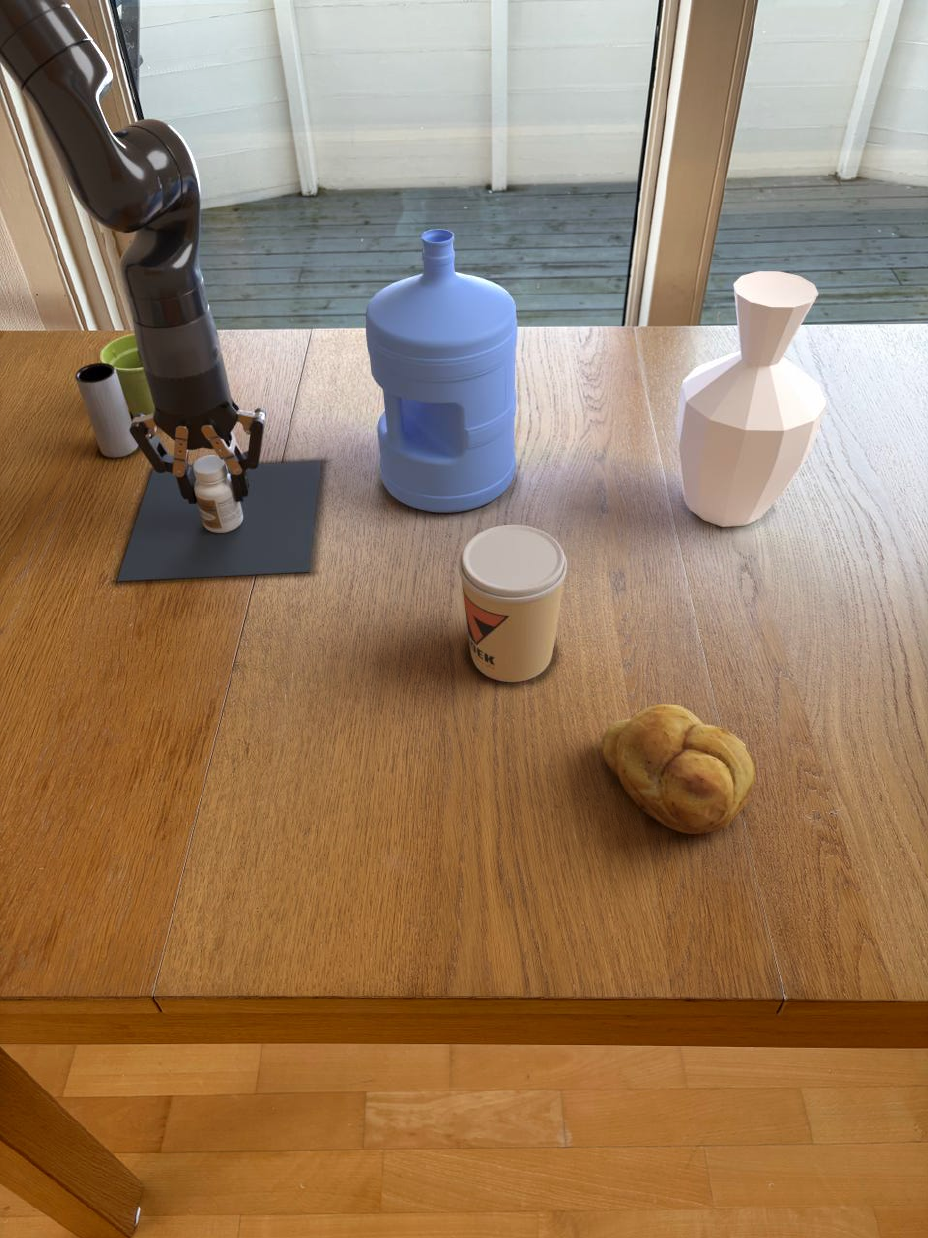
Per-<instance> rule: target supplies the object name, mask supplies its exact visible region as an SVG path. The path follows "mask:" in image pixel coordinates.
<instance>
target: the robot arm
mask: <svg viewBox="0 0 928 1238" xmlns="http://www.w3.org/2000/svg"><path fill="white" fill-rule="evenodd" d="M0 65H1V66H2V68H3V69H4V70H5V71H6V72H7V74H8V75H9V77H10V78H11V79H12V81H13V82H14V83H15V85H16V86H17V87H18V88H19V90H20V91H21V92H22V94H23V96H24V97H25V98H26V99H27V100H28V102H29V103H30V105H31V106H32V108H33V109H34V111H35V113H36V115H37V117H38V120H39V122H40V124H41V127H42V129H43V131H44V133H45V136H46V138H47V141H48V142H49V144H50V147H51V149H52V151H53V153H54V155H55V157H56V158H55V159H56V160H57V162H58V164H59V166H60V168H61V171H62V173H63V175H64V177H65V181H66V182H67V184H68V186H69V188H70V190H71V192H72V194H73V195H74V197H75V199H76V201H77V202H78V203H79V205H80V206H81V207H82V208H83V209H84V211H85V212H86V213H87V214H88V215H89V216H90V217H91V218H92V219H93V220H95V221H96V222H97V223H99V225H101V226H103V227H104V228H107V229H108V230H110V231H113V232H115V233H119V234H132V233H134V236H133V238H132V240H131V241H130V243H129V244H128V246H127V247H126V248H125V250H124V251H123V253H122V254H121V255H120V259H119V265H118V269H119V275H120V280H121V284H122V287H123V291H124V294H125V297H126V301H127V305H128V308H129V312H130V315H131V320H132V324H133V332H134V333H135V339H136V344H137V347H138V355H139V359H140V361H141V362H142V365H143V368H144V372H145V375H146V379H147V383H148V386H149V390H150V393H151V397H152V400H153V403H154V406H155V411H154V413H152V414H149V415H146V416H145V415H143V414H141V413H137V414H136V415H135V416H134V417H133V418H132V420H131V421H132V423H131V427H130V429H129V431H130V433H131V435H132V436H133V438H134V439H135V441H136V442H137V444H138V447H139V448H140V451H141V452H142V453H143V455H144V456H145V458H146V460H147V461H148V462H149V463H150V465H151V467H152V469H154V470H155V471H156V472H158V473H164V472H165V471H167V472H171V473H173V474H174V476H176V478H177V482H178V486H179V489H180V493H181V496H182V497H183V498H184V499H188V502H189V504H196V503H197V499H196V496H195V492H194V483H195V481H196V480H195V476H194V472H193V468H192V467H193V464H192V465H190V464H189V457H190V451H195V450H196V451H197V450H199V449H207V450H214V451H215V453H216V455H217V456H219V457H220V459H221V460H224V462H225V463H226V465H227V466H228V468H229V469H230V471H231V474H230V477H231V481H232V486H233V490H234V494H235V498H236V502H243V501H244V497H247V496H248V492H249V487H250V483H249V479H248V474H247V469H249V468H250V469H256V468H257V467H258V464H260V459H261V454H262V453H261V452H262V446H263V439H264V432H265V425H266V419H267V411H266V410H265V409H264V408H263V407H262V408H261V407H258V408H256V409H255V410H254V411H249V410H246V409H245V410H244V409H240V407H239V406H238V404H237V403H236V402H235V400H234V399H233V397H232V393H231V388H230V383H229V379H228V374H227V370H226V369H227V368H226V365H225V359H224V356H223V352H222V351H223V350H222V348H221V347H222V346H221V342H220V338H219V333H218V329H217V325H216V322H215V320H214V317H213V314H212V311H211V309H210V305H209V300H208V295H207V291H206V287H205V281H204V277H203V274H202V269H201V266H200V247H201V246H200V245H201V214H202V213H201V208H202V207H201V205H202V203H201V202H202V200H201V198H202V197H201V195H202V194H201V183H200V176H199V172H198V167H197V164H196V161H195V159H194V156H193V154H192V151H191V150H190V148H189V146H188V143H187V142H186V141H185V140H184V138H183V137H182V136H181V134H180V133H179V132H178V131H177V130H176V129H175V128H174V127H172V126H171V125H169V124H168V123H167V122H164V121H162V120H159V119H155V118H145V119H144V118H143V119H140V120H137V121H134V122H132V123H130V124H128V125H126V126H123V127H122V128H120V129H118V130H116V131H114V132H112V131H111V128H109V125H108V123H107V121H106V118H105V116H104V113H103V110H102V108H101V105H100V103H101V102H102V101H103V99H104V98H105V97H106V96H107V95H108V93H109V92H110V91H111V89H112V86H113V82H114V74H113V70H112V69H111V66H110V64H109V62H108V60H107V58H106V57H105V55H104V54H103V52H102V51H101V50H100V48H99V46H98V44H97V43H95V42H94V39H93V38H92V36H91V35H90V34H89V32H88V31H87V29H86V28H85V26H84V25H83V23H82V22H81V21H80V19H79V18H78V16H77V15H76V13H75V11H74V10H73V9H72V8H71V7H70V5H69V3H68V2H67V0H0ZM237 423H239V424H241V425H242V430H243V432H244V433H245V434H246V435H248V436H249V441H248V448H247V451H244V452H243V451H242V448H241V447H240V446H239V444H238V442H237V437H236V436H235V434H234V432H233V430H234V428H235V426H236V425H237ZM158 428H159V429H160V430H161V431H162V432H163V433H165V434H166V435H167V436H168V437H169V438H170V439H172V440H173V441H174V448H173V454H170V452H169V451H168V449H167V448H166V446H165V444H164V442H163V441H162V439H161V438H160V436H159V435H158V433H157V431H158Z"/></svg>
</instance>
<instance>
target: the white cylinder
mask: <svg viewBox="0 0 928 1238" xmlns="http://www.w3.org/2000/svg"><path fill="white" fill-rule="evenodd" d="M74 379H75V381H76V384H77V387H78V390H79V393H80V395H81V399H82V403H83V404H84V408H85V410H86V413H87V416H88V420H89V421H90V425H91V428H92V431H93V434H94V436H95V439H96V442H97V446H98V447H99V450H100V453H101V454H102V455H103V456H105V457H107V458H114V459H115V458H122V457H126V456H128V455H131V454H132V453H134V452H135V451H136V450H137V449H138V447H139V445H138V444H137V442H136V441H135V439H134V438H133V436H132V435H131V433H130V431H129V429H130V427H131V423H132V421H133V420H132V418H131V414H130V410H129V407H128V405H127V403H126V401H125V398H124V395H123V392H122V389H121V385H120V382H119V379H118V376H117V373H116V369H115V367H114V366H112V365H110V364H107V363H101V362H95V363H91V364H87V365H84V366H82V367H80V368H79V369H78V370H77V371H76V373H75V375H74Z"/></svg>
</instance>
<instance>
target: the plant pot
mask: <svg viewBox="0 0 928 1238" xmlns="http://www.w3.org/2000/svg"><path fill="white" fill-rule="evenodd" d="M98 356H99V361H100V363H107V364H110V365H112V366H114V367H115V369H116V373H117V376H118V379H119V382H120V385H121V389H122V392H123V395H124V398H125V401H126V405H127V408H128V410H129V412H130V413H131V414H132V417H133V418H134V416H135V415H136V414H137V413H141V414H143V415H145V416H146V415H149V414H152V413H154V411H155V406H154V403H153V400H152V397H151V393H150V390H149V386H148V383H147V379H146V375H145V372H144V368H143V365H142V362H141V361H140V359H139V355H138V347H137V344H136V339H135V333H130V334H126V335H123V336H120V337H117V338H115V339H113V340H112V341H110V342H108V343H107V344H106V345H104V347H103V348H102V349H101V351H100V352H99V355H98Z"/></svg>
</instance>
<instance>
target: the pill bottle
mask: <svg viewBox="0 0 928 1238" xmlns="http://www.w3.org/2000/svg"><path fill="white" fill-rule="evenodd" d="M192 467H193V470H194V474H195V477H196V481H195V483H194V492H195V496H196V499H197V503H198V507H199V510H200V514H201V518H202V521H203V525H204V526H205V528H206V529H207V530H209V531H211V532H215V533H226V532H229V531H232V530H234V529H236V528H237V527H238V526H239V525H240V524H241V523H242V521H243V514H242V509H241V505H240V502H236V498H235V494H234V490H233V486H232V481H231V477H230V474H229V473H228V468H227V465H226V463H225V462H224V460H221V459H220V457H219V456H218V454H209V455H203V456H202V457H199V458H197V459H196V460H195V461H194V463H193V464H192Z"/></svg>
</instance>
